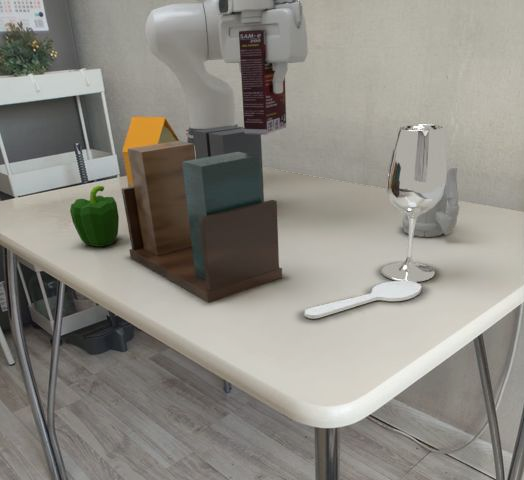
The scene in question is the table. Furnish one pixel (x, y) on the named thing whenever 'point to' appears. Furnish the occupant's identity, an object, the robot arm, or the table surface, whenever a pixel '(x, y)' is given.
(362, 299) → the spoon
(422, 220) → the grey curved piece
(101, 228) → the bell pepper
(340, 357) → the table surface
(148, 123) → the orange juice
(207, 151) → the grey books
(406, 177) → the wineglass
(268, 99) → the supplement box
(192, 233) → the book rack
